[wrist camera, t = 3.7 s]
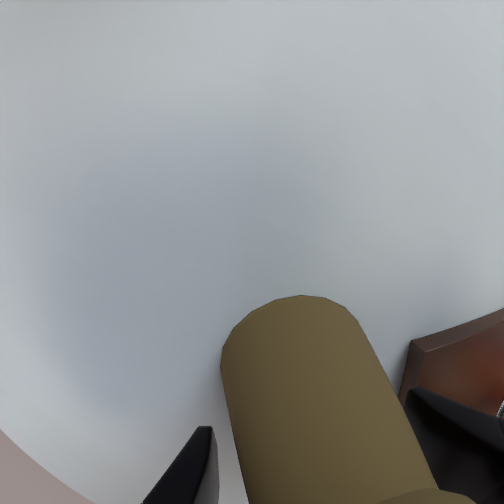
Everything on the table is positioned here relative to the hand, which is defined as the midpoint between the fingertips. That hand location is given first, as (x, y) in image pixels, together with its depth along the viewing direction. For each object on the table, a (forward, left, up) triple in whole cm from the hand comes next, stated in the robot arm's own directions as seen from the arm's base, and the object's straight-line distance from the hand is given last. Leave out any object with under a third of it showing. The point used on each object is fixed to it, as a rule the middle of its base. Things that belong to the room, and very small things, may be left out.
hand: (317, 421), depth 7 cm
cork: (0, 0, -4) cm, 4 cm away
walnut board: (-7, -11, -4) cm, 14 cm away
